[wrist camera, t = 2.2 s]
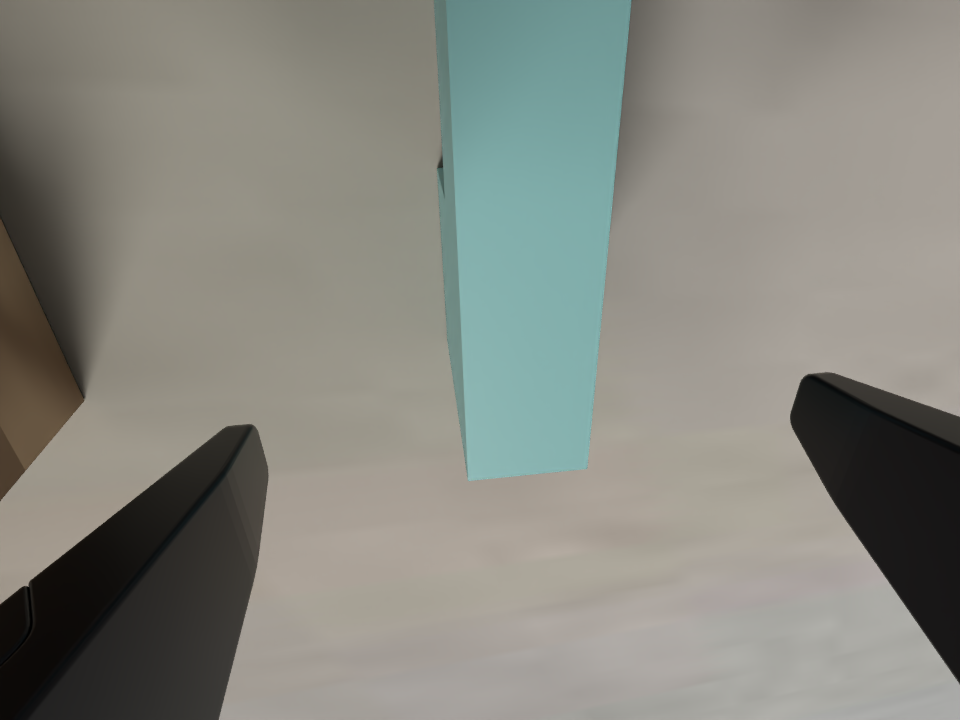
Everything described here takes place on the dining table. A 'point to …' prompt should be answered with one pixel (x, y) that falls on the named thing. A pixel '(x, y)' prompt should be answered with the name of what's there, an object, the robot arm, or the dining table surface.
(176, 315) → the dining table surface
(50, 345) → the walnut slotted board
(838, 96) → the dining table surface
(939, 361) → the dining table surface
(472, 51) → the teal notched plate
